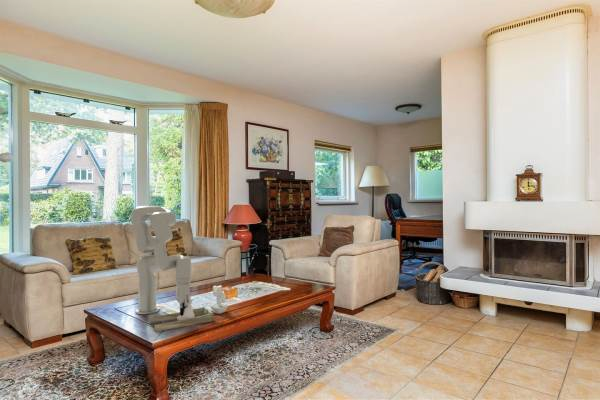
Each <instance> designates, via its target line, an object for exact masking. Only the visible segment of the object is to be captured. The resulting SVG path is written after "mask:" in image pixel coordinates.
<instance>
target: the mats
mask: <svg viewBox="0 0 600 400" xmlns="http://www.w3.org/2000/svg"><path fill="white" fill-rule="evenodd" d="M163 323H164V321H160V322H155V323H150V324H149V325H150V326H151V327H152V328H153V330H154V331H155V325H158V324H163Z"/></svg>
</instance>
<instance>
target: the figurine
mask: <svg viewBox="0 0 600 400" xmlns="http://www.w3.org/2000/svg"><path fill="white" fill-rule="evenodd" d="M222 287H223V285H221V284H220V285H213V286H212V295H213V296H214V297H215V298H216V303H215V304H212V305H210V306H209V307H210V309H211V310H212V313H213V314H218V315H219V314H223V313H225V312H226V311H227V309H228V306H229V305H228V304H225V303H226V300H227V299H226V293H225V292H222V291H223V288H222Z"/></svg>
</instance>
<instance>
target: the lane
mask: <svg viewBox="0 0 600 400" xmlns="http://www.w3.org/2000/svg"><path fill="white" fill-rule="evenodd" d="M193 313H194V315H195V318H191V319H186V320H180V321H178V320H177V317H178V316H180V311H179V312H175V313H174V312H173V313H168V314H162V315H156V316H150V317H148V324H149V325H151V324H150V323H155V322H160V321H162V322H163V324H158V325H155V330H154V333H157V332H161V331H166V330H172V329H177V328H183V327H189V326H194V325H199V324H204V323H209V322H213V321H214V312H213V311H211V310H210V309H209V308H207V307H206V306H202V307H197V308H196V307H195V308H193ZM174 320H176V321H174ZM167 321H168V322H167ZM169 321H170V322H169Z"/></svg>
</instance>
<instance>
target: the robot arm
mask: <svg viewBox="0 0 600 400" xmlns="http://www.w3.org/2000/svg"><path fill="white" fill-rule="evenodd" d="M130 220H131V224H132V227H133V230H134V236H135V242H136V243H135V244H136V249H137V252H138V253H139V254H142V255H143V254H144V256H141V257H139V258H137V260H136V264H135V265H136V270H137V281H138V282H137V283H138V289H137V290H138V303H137V304H138V305H137V306H138V307H137V308H136V309H135V313H136V314H137V315H151V314H155V313H158V312H159V311H160V307H159V306H157V278H156V276H155V274H154V272H159V271H162V272H163V271H164V272H166V271H172V270H175V284H176V287H175V289H176V291H175V301H177V303H178V304H179V312H180V315H181V316H183V314H184V309H185V308H186V307H187V299H188V303H189V302H190V297H191V292H190V291H191V290H190V288H191V287H190V284H191V283H192V260H191V257H190V256H188V255H187V256H184V255H183V254H178V253H177V254H173V255H170V254H169V255H168V253H167V245H166V244H167V243H168V242H170V241H171V240H172V239H173V236H174V234H173V233H172V230H171V228H170V227H173V226H176V225H175V224H177V223H176V222H177V217H176V215H175V214H174V212H173V211H171V210H170V209H167V208H165V207H164V206H161V205H142V206H137V207H135V208H133V209H132V211H131V213H130ZM147 222H150V225H149V224H148V223H147ZM150 226H151V227H150ZM151 228H152V230H151ZM152 231H153V233H154V235H152ZM150 253H151V254H150ZM152 253H153V254H152ZM145 254H150V255H145Z"/></svg>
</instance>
